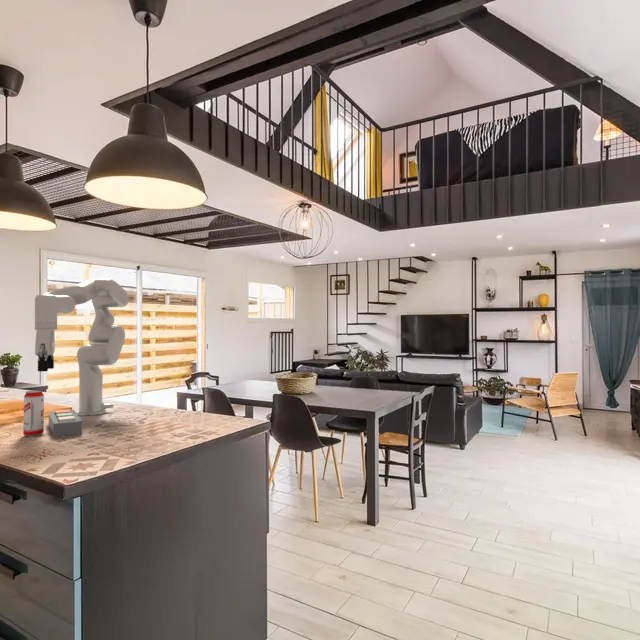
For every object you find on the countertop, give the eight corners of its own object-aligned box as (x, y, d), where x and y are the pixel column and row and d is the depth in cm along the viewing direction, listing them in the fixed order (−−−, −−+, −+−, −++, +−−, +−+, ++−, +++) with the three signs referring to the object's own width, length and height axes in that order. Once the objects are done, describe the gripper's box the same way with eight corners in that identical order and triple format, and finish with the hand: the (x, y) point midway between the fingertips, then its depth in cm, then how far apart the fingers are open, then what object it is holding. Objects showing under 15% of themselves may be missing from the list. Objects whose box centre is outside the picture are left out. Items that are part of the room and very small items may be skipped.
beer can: (41, 432, 169) (41, 389, 169) (45, 435, 164) (46, 391, 165) (21, 435, 164) (22, 391, 165) (25, 438, 160) (26, 392, 160)
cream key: (73, 422, 171) (73, 415, 171) (74, 425, 167) (75, 418, 167) (58, 424, 168) (58, 417, 168) (59, 426, 164) (59, 419, 164)
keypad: (73, 421, 187) (73, 409, 187) (81, 434, 165) (82, 420, 165) (48, 424, 182) (48, 412, 182) (53, 437, 160) (53, 423, 160)
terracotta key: (69, 415, 184) (69, 409, 184) (70, 417, 180) (70, 411, 180) (54, 417, 181) (54, 410, 181) (55, 419, 177) (55, 412, 177)
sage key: (71, 419, 177) (71, 412, 177) (72, 421, 173) (72, 414, 173) (56, 420, 174) (56, 413, 174) (57, 422, 170) (57, 416, 170)
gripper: (40, 326, 183) (40, 368, 183) (28, 326, 166) (28, 372, 166) (61, 325, 185) (61, 367, 185) (51, 326, 169) (51, 371, 169)
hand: (46, 369), depth 176 cm, fingers open, 9 cm apart
